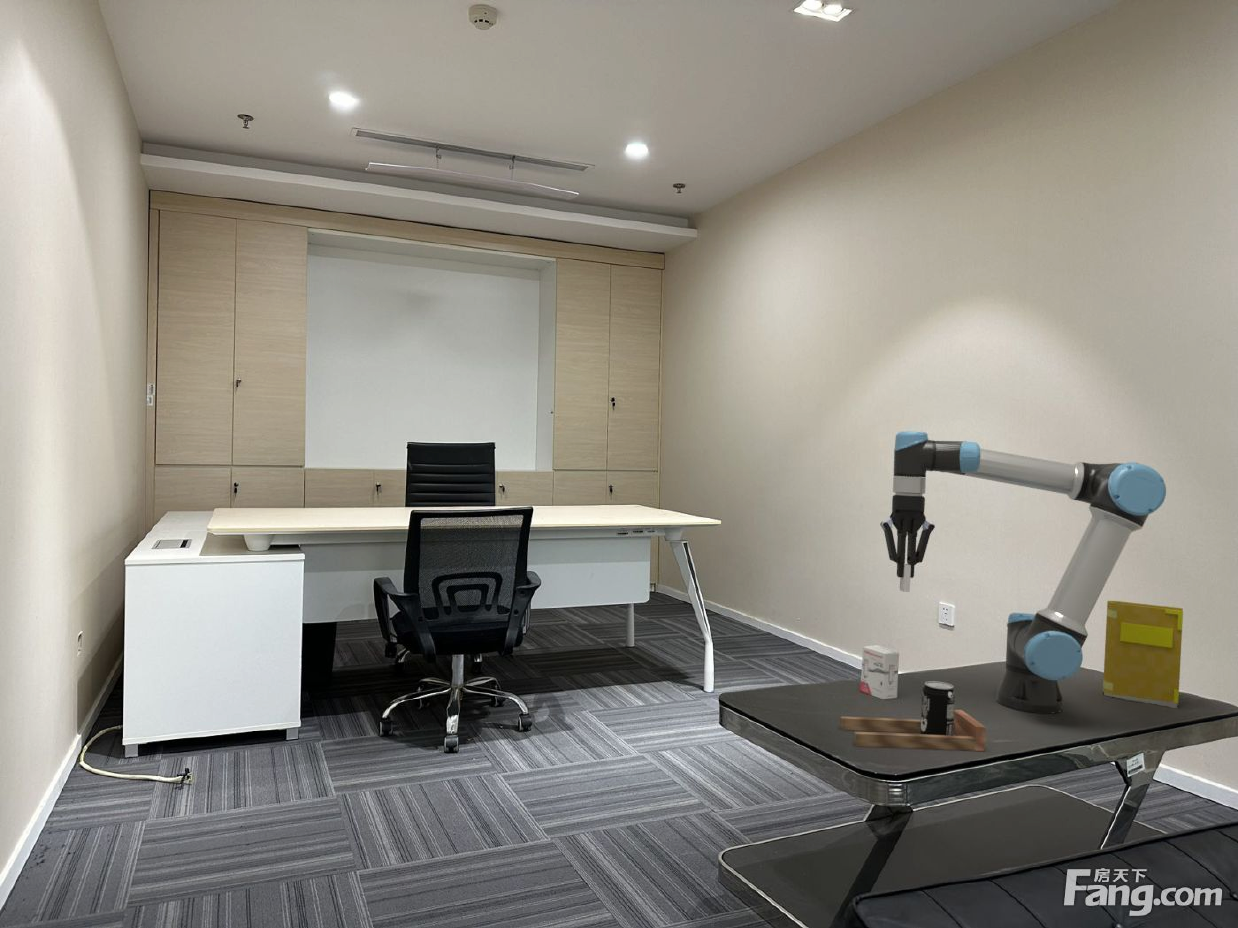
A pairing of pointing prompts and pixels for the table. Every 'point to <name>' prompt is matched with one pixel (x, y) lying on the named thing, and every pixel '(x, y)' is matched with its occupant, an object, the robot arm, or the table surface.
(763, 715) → the table surface
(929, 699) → the beverage can
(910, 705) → the table surface
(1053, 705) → the robot arm
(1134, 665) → the book
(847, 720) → the channel
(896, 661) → the ink box
